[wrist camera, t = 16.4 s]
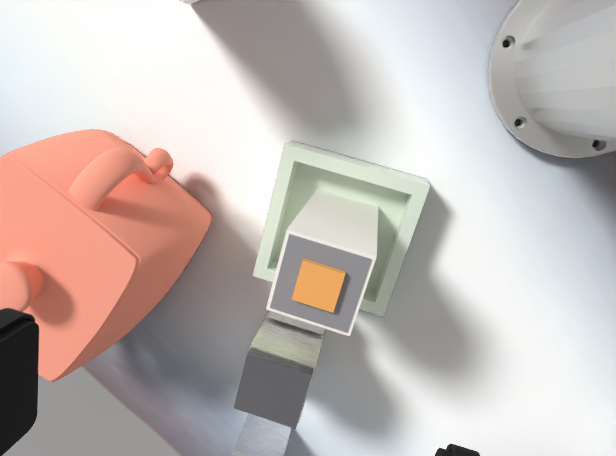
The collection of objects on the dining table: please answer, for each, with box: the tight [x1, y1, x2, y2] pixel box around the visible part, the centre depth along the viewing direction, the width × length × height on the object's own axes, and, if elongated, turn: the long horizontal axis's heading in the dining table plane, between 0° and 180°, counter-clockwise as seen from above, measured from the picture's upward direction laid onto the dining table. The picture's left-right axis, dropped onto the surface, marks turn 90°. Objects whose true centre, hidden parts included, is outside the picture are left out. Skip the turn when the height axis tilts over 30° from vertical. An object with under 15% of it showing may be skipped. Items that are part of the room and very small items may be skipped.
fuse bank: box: [231, 311, 326, 456], centre depth 36 cm, size 5×16×10 cm, turn 165°
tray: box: [253, 141, 430, 317], centre depth 35 cm, size 11×11×3 cm
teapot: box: [0, 129, 212, 382], centre depth 33 cm, size 20×19×14 cm
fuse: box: [266, 189, 378, 336], centre depth 29 cm, size 5×5×12 cm
